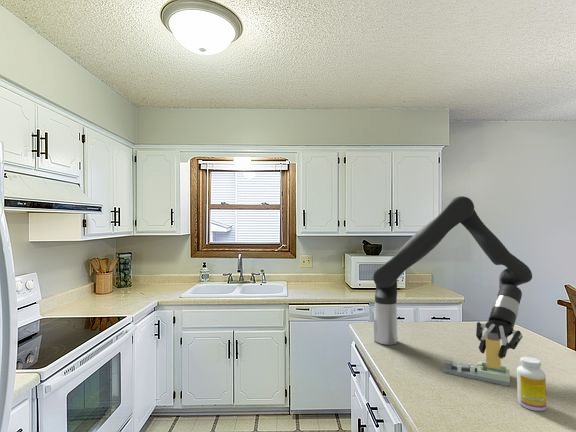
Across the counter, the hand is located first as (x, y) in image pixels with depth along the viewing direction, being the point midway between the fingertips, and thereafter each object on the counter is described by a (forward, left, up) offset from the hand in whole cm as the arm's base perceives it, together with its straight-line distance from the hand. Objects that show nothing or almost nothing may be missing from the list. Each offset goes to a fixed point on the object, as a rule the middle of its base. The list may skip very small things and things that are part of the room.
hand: (490, 354), depth 111 cm
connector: (+1, +2, -4) cm, 5 cm away
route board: (-4, +2, -8) cm, 9 cm away
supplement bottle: (+10, -13, -8) cm, 18 cm away
